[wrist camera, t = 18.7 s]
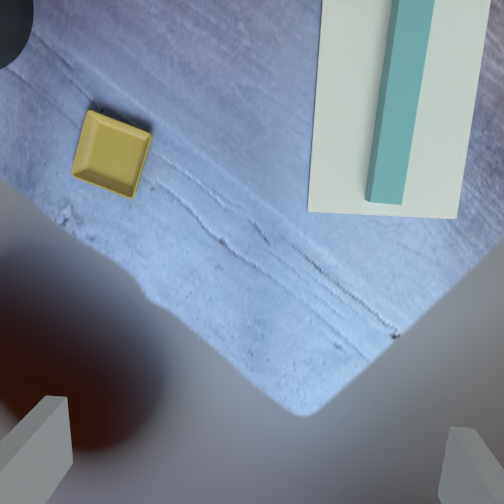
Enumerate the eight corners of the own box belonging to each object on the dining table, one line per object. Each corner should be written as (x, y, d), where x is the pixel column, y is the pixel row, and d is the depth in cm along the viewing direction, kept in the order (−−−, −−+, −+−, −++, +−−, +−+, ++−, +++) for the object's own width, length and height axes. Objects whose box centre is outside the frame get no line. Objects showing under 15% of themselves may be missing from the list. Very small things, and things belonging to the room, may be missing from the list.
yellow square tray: (158, 135, 49) (152, 133, 47) (139, 199, 51) (132, 200, 49) (95, 110, 49) (86, 108, 47) (78, 175, 51) (69, 175, 49)
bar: (393, 202, 47) (401, 204, 44) (364, 199, 47) (370, 202, 44) (428, -19, 42) (440, -36, 38) (395, -21, 42) (404, -37, 39)
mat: (454, 218, 47) (456, 219, 47) (307, 211, 49) (307, 211, 48) (494, -41, 41) (497, -44, 41) (325, -41, 43) (326, -44, 42)
